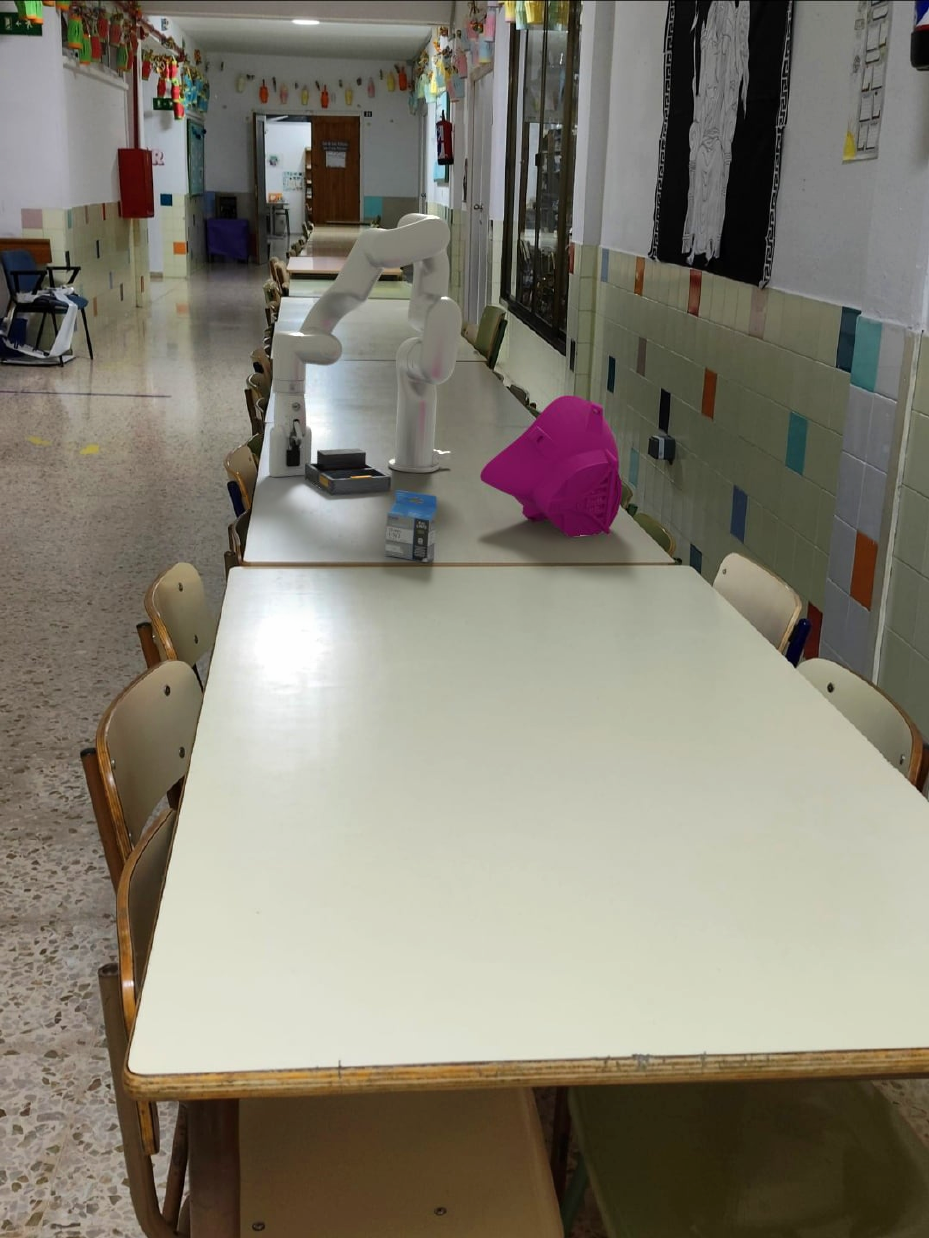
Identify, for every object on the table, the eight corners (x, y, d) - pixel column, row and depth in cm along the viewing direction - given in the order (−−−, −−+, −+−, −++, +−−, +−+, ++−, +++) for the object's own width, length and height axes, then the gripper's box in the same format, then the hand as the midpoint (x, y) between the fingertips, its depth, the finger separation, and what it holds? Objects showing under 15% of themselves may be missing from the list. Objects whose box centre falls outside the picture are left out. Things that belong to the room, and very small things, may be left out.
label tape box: (384, 556, 230) (386, 493, 226) (393, 550, 234) (395, 489, 229) (426, 563, 227) (430, 500, 223) (434, 558, 231) (438, 495, 227)
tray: (362, 474, 290) (363, 446, 288) (390, 491, 277) (391, 461, 274) (304, 478, 283) (304, 449, 281) (330, 495, 270) (331, 465, 267)
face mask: (638, 550, 257) (509, 577, 248) (592, 495, 274) (469, 518, 264) (656, 437, 240) (517, 461, 231) (605, 386, 256) (474, 406, 247)
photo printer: (305, 471, 290) (306, 420, 286) (313, 475, 287) (314, 423, 282) (266, 474, 285) (266, 422, 280) (274, 478, 281) (274, 426, 277)
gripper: (318, 392, 273) (316, 470, 279) (291, 379, 287) (290, 454, 293) (286, 393, 269) (285, 472, 276) (261, 380, 284) (261, 456, 290)
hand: (288, 462), depth 284 cm, fingers open, 5 cm apart
